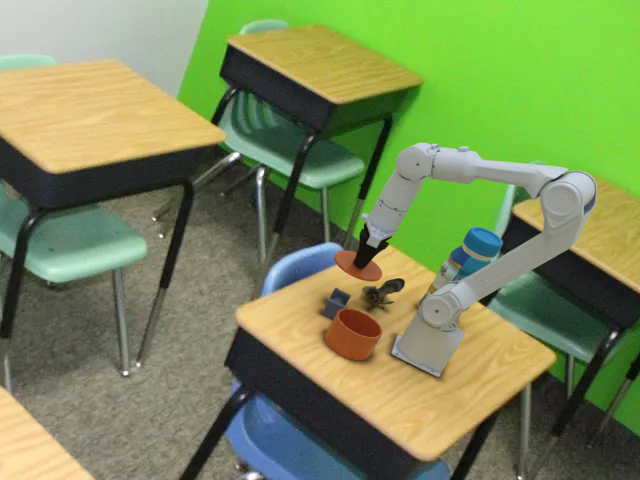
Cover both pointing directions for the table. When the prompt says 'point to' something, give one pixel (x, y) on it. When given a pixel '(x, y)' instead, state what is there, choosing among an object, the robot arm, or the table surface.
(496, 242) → the beverage bottle
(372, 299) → the eagle figurine
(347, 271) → the lid
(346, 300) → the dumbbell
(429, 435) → the table surface
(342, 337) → the pot
